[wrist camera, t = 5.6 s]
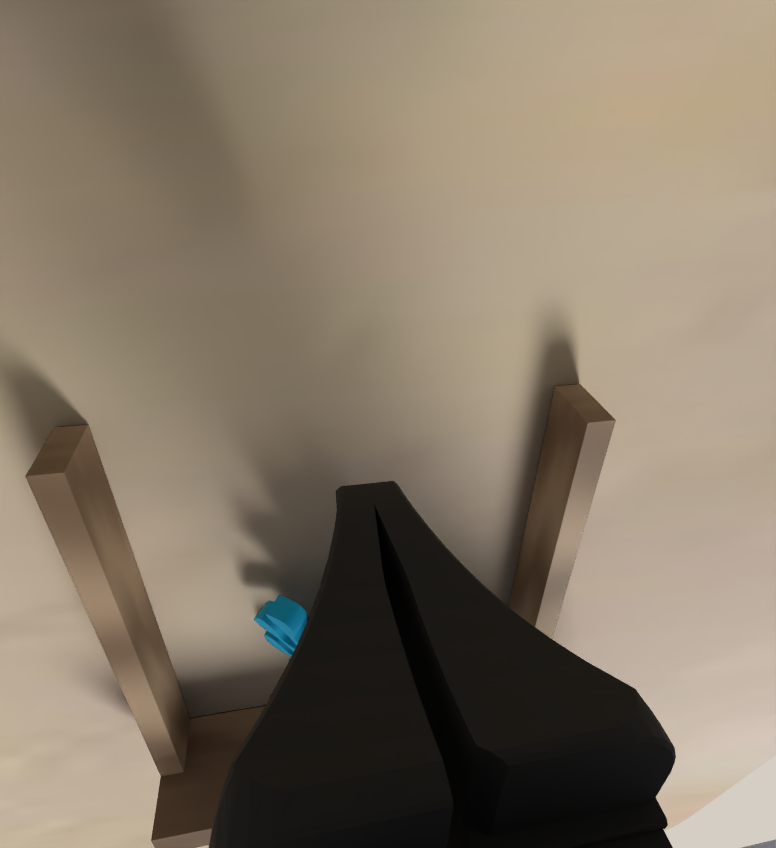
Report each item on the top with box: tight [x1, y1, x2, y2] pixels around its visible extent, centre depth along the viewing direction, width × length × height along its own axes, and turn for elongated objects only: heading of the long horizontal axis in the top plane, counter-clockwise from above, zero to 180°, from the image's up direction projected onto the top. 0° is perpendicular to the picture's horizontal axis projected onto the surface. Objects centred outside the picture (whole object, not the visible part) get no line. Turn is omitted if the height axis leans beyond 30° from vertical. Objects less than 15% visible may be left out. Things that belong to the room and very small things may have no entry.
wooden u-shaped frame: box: [25, 384, 616, 848], centre depth 22 cm, size 19×18×5 cm
